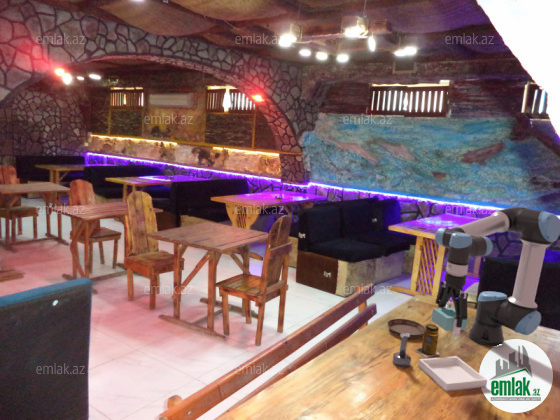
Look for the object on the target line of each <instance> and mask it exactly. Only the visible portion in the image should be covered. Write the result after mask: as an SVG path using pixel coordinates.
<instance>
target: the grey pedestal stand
mask: <svg viewBox="0 0 560 420" xmlns="http://www.w3.org/2000/svg"><path fill="white" fill-rule="evenodd" d="M399 337H400V338H401V340H400V348H399V352H394V353H393V356H392V364H393V365H394V366H396V367H398V368H402V369H407V368H410V366H411V361H412V357H411V356H410V355H409V354H407V346H408V339H409V338H408V337H410V334H409V333H401V334H400V336H399Z"/></svg>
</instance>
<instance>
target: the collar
mask: <svg viewBox="0 0 560 420" xmlns="http://www.w3.org/2000/svg"><path fill="white" fill-rule="evenodd" d="M459 316H460V315H459ZM454 318H456V312H455V307H445V308H439V307H438V308H437V307H436V308H432V316H431V321H432V322H433V323H434V324H436V326H437V327H440V328H441V329H442V330H444V331H445V332H446V331H453V325H454ZM467 322H468V316H467V319H466V320H462V327H461V328H460V331H461V330H467V324H468V323H467Z"/></svg>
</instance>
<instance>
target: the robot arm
mask: <svg viewBox="0 0 560 420" xmlns="http://www.w3.org/2000/svg"><path fill="white" fill-rule="evenodd" d="M506 232H511V233H515V234H520V241H521V242H522V249H521V253H520V258H519V263H518V266H517V267H518V268H517V272H516V276H515V282H514V286H513V292H512V296H509V297H508V295H507V294H505V293H503V292H500V291H498V292H497V291H493V290H492V291H491V290H490V291H489V290H488V291H482V292H480V293H479V296H478V298H477V304H476V305H477V306H476V311H475V317H474V318H475V319H474V322H473V323H472V325H471V326H470V328H469V331H468V335H467V336H468V337H469V339H470V340H472V341H473V342H475V343H477V344H480V345H481V346H485V347H486V346H488V347H491V346H497V345H499V344H502V343H503V344H504V340H505V337H504V333H503V327H505V328H507V329H509V330H510V331H514V332H515V333H517V334H521V335H524V336H529V335H531V334H533V333H534V332H535V331H536V330H537V329H538V328H539V325H540V324H541V321H542V314H541V312H539V311H538V310H537V309H538V304H537V303H536V302H535V300H536V295H537V292H538V285H539V282H540V277H541V272H542V269H543V264H544V263H543V262H544V259H545V253H546V250H547V249H546V248H548V247H551V245H552V243H553V242H556V241H558V239H559V237H560V219H559V217H558V215H556V214H554V213H551V212H548V211H544V210H539V209H534V208H533V209H532V208H527V207H523V206H522V207H521V206H517V207H515V206H513V207H507V208H504V209H500V210H497V211H494V212H492V213H491V215H489V216H487V217H483V218H480V219H477V220H473V221H470V222H468V223H464V224H462V225H459V226H456V227H453V228H448V227H440V228H438V229H437V230H436V231H435V234H434V240H435V243H436V244H437V245H439V246H442V247H444V248H448V254H447V261H446V262H447V263H446V268H445V271H446V272H445V273H444V281H440V282H439V283H440V284H439V285H440V286H439V289H438V292H437V296H436V298H435V305H436V304H437V306H438V308H447V304H448V302H449V300H450V298H452V299H451V300H452V301H453V305H454V309H455V312H456V318H454V325H453V330H452V333H451V334H452V336H456V335H457V336H458V335H459V336H460V334H461V330H460V328H461V327H462V320H466V319H467V320H468V318H467V317H468V297H469V293H468V292H464V290H463V289H464V288H463V287H464V286H466V282H467V275H468V269H469V262H470V258H477V257H485V256H488V255H491V253H492V251H493V249H494V246H493V242H492V240H491V239H490V238H489V237H488V236H490V235H492V234H493V235H494V234H495V233H506ZM459 315H460V316H459Z"/></svg>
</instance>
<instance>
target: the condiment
mask: <svg viewBox="0 0 560 420" xmlns="http://www.w3.org/2000/svg"><path fill="white" fill-rule="evenodd" d="M422 336H423V337H422V343H421V347H419V348H415V349H414V351H415V352H416V353H418V354H420V355H422V356H423V357H425V358H426V359H429V358H433V357H434V356H438V355H440V354H441V353H440V352H438V351H437V348H438V341H439V326H438V325H437V324H436V325H435V324H432V323H429V324H426V325H425V331H424V334H422Z"/></svg>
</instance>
